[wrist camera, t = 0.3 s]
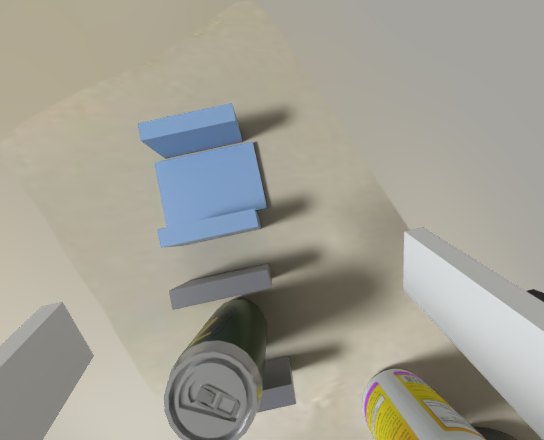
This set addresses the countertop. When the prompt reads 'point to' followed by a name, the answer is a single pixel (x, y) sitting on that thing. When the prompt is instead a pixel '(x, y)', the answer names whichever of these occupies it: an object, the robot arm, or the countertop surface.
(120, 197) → the countertop surface
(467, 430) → the supplement bottle
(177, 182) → the blue bezel pad
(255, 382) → the beer can
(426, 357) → the countertop surface
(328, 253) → the countertop surface
